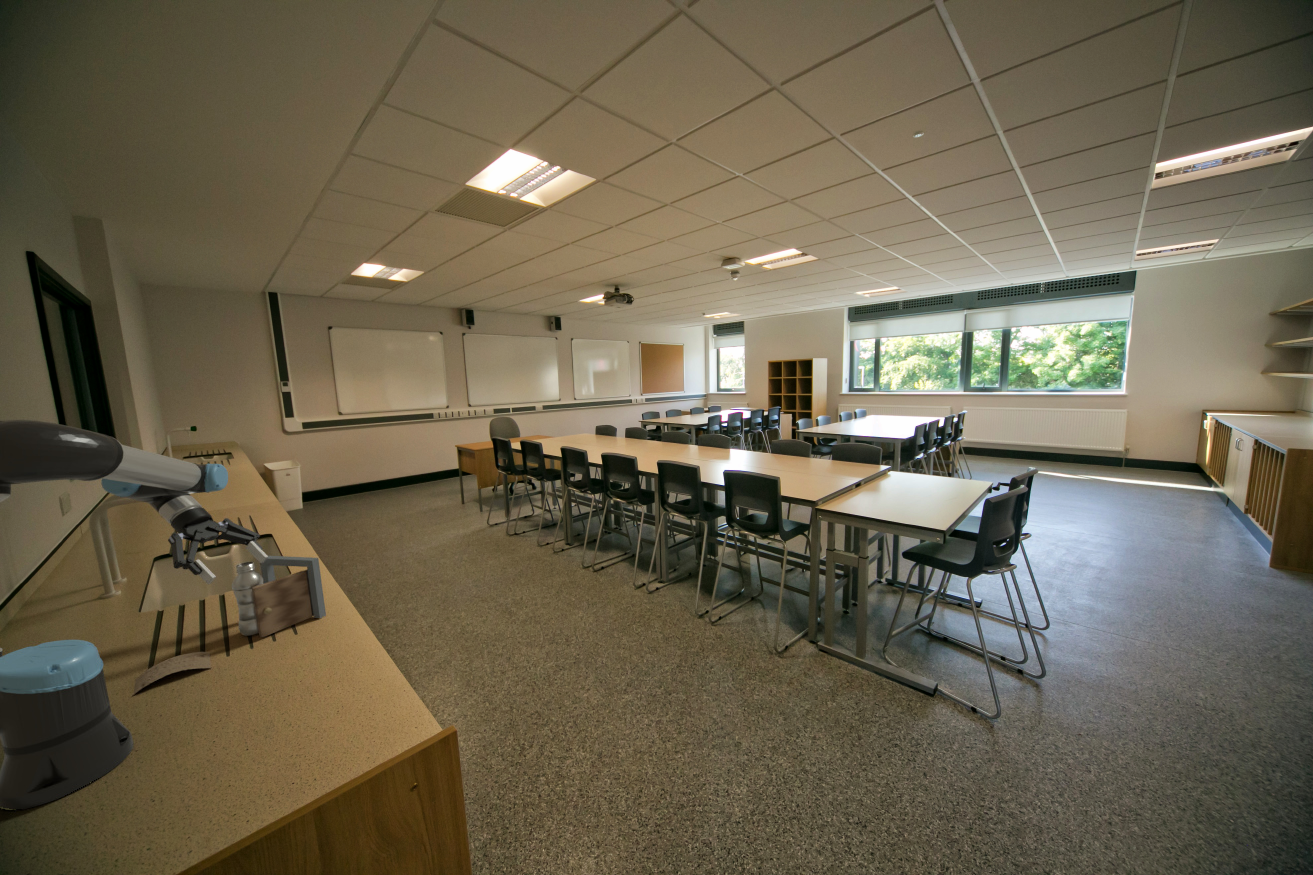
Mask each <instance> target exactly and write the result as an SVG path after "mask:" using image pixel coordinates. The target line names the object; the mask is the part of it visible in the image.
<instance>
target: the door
mask: <svg viewBox="0 0 1313 875" xmlns="http://www.w3.org/2000/svg"><path fill="white" fill-rule="evenodd" d="M252 593H253V599H254V605H255V612H256V618H257V624H258V631H259V633H258V635H259V637H260V638H264V637H268V636H269V635H272V634H273V633H277V632H278V631H281V630H283V629H286V628H288V627H291V626H294V625H295V624H297V623H300V622H303V621H305V620H307V619H310V618H312V617H314V613H313V606H312V599H311V592H310V585H309V577H308V570H307V569H305V570H300V571H297V572H294V573H292V574H289V575H286V576H283V577H280V578H277V579H276V578H275V580H273V581H270V582H267V583H264V584H261V585H258V586H255V587H253V588H252Z"/></svg>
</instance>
